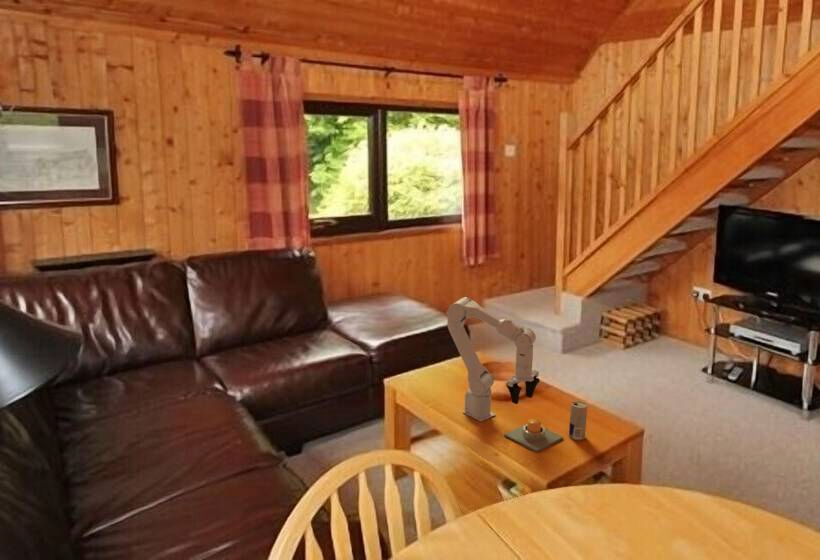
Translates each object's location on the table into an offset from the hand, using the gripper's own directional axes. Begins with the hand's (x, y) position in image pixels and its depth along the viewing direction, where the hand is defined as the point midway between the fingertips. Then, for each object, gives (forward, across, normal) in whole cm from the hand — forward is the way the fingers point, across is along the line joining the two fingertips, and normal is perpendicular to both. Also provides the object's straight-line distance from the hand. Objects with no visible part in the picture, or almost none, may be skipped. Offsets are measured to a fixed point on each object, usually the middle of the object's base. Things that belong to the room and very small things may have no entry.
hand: (522, 399), depth 209 cm
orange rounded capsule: (+8, -4, -9) cm, 13 cm away
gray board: (+9, -4, -9) cm, 14 cm away
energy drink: (+10, +8, -18) cm, 22 cm away
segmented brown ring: (+9, -4, -9) cm, 14 cm away
